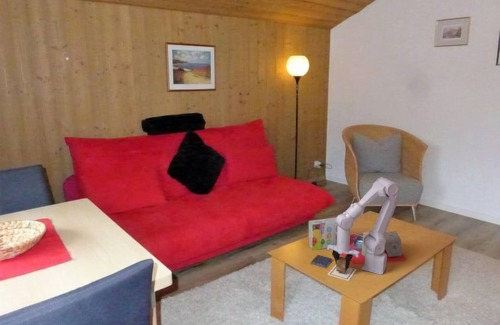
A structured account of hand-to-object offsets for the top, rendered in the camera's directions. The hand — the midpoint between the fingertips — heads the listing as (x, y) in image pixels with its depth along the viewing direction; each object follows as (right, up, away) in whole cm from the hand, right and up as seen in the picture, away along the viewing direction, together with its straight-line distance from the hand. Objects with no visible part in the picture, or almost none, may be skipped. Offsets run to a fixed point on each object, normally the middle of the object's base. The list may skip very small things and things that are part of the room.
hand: (342, 266), depth 172 cm
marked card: (0, -3, +1) cm, 3 cm away
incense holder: (+30, +2, +18) cm, 35 cm away
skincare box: (+18, +1, +16) cm, 24 cm away
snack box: (-1, +3, +27) cm, 28 cm away
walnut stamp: (0, -1, 0) cm, 1 cm away
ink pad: (-8, -1, +10) cm, 13 cm away
